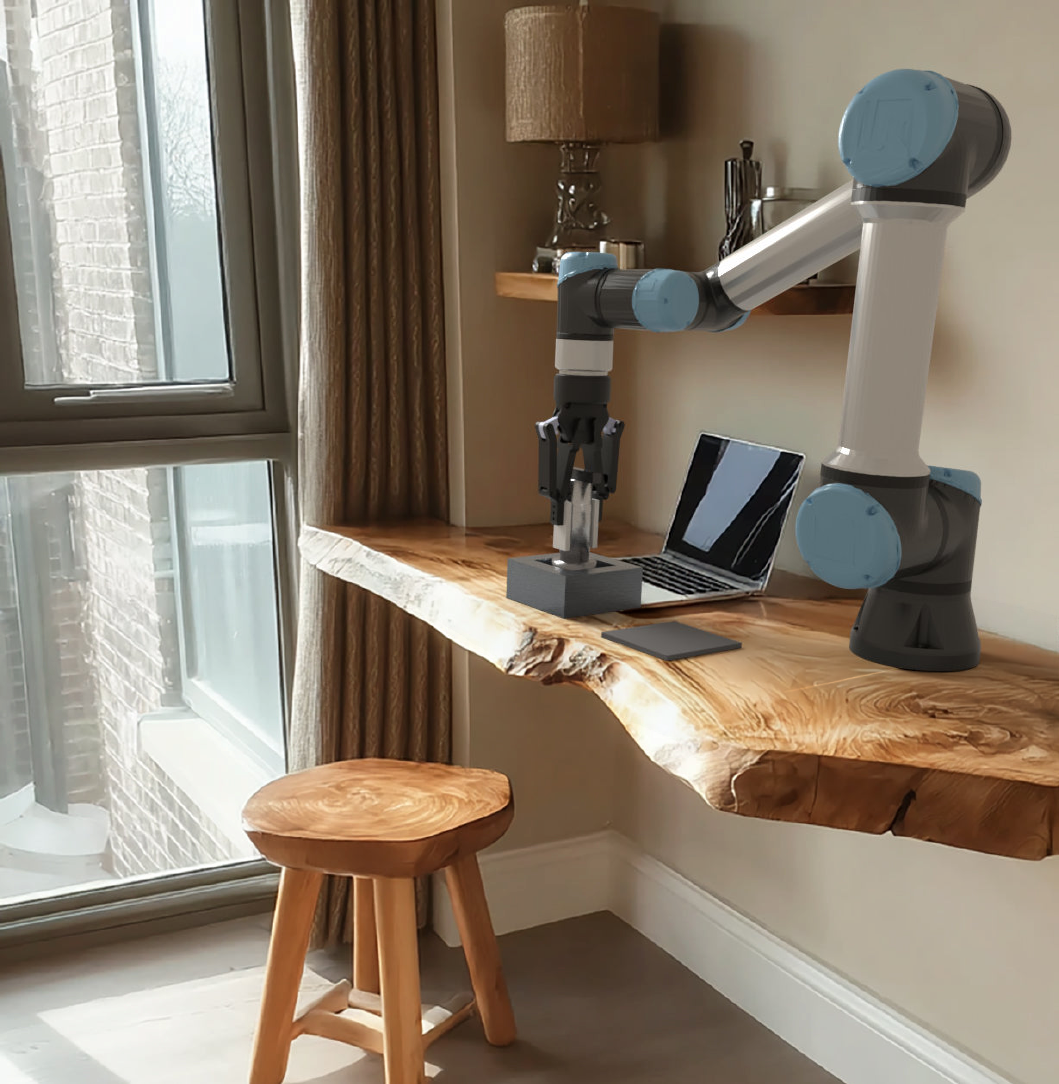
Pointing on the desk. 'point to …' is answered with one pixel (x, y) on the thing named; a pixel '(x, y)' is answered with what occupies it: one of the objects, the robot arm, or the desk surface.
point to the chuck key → (579, 522)
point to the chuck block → (574, 585)
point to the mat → (671, 640)
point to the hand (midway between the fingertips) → (575, 547)
